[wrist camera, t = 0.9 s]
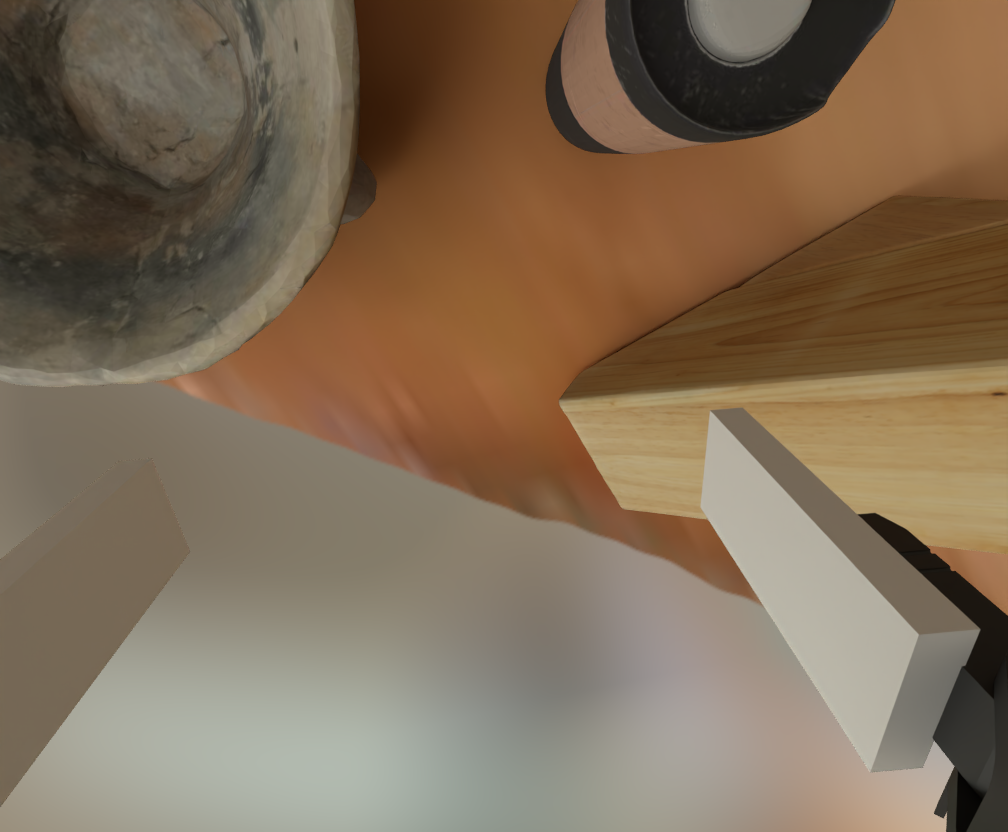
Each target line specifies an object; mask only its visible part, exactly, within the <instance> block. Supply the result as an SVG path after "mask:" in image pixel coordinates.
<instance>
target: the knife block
mask: <svg viewBox="0 0 1008 832" xmlns="http://www.w3.org/2000/svg"><path fill="white" fill-rule="evenodd" d="M559 405H560V407H561V409H562V410H563V412H564V413H565V414H566V415H567V417H568V418H569V420H570V422H571V424H572V425H573V427H574V429H575V430H576V432H577V434H578V436H579V437H580V439H581V441H582V442H583V444H584V446H585V447H586V449H587V451H588V452H589V454H590V456H591V458H592V459H593V461H594V463H595V464H596V467H597V469H598V470H599V472H600V473H601V475H602V477H603V478H604V480H605V482H606V483H607V485H608V486H609V488H610V490H611V491H612V493H613V494H614V496H615V497H616V499H617V501H618V503H619V505H620V506H621V507H622V508H623V509H627V510H636V511H645V512H653V513H661V514H669V515H677V516H685V517H693V518H701V519H708V518H707V517H706V515H705V514H704V512H703V511H702V509H701V507H700V506H701V496H702V486H703V476H704V466H705V456H706V446H707V435H708V425H709V415H710V410H718V409H730V408H744V409H745V410H746V411H747V412H748V413H749V414H750V415H751V416H752V417H753V418H754V419H755V420H756V421H757V422H759V423H760V424H761V425H762V426H763V427H764V428H765V429H766V430H767V431H768V432H769V433H770V434H771V435H773V436H774V437H775V438H776V439H777V440H778V441H779V442H780V443H781V444H782V445H783V446H784V447H785V448H786V449H788V450H789V451H790V452H791V453H792V454H793V455H794V456H795V457H796V458H797V459H798V460H799V461H800V462H802V463H803V464H804V465H805V466H806V467H807V468H808V469H809V470H810V471H811V472H812V473H813V474H814V475H815V476H817V477H818V478H819V479H820V480H821V481H822V482H823V483H824V484H825V485H826V486H827V487H828V488H829V489H830V490H832V491H833V492H834V493H835V494H836V495H837V496H838V497H839V498H840V499H841V500H842V501H843V502H844V503H846V504H847V505H848V506H849V507H850V508H851V509H852V510H853V511H854V512H855V513H856V514H867V513H877V514H879V515H880V516H882V517H884V518H886V519H888V520H890V521H892V522H894V523H896V524H898V525H900V526H902V527H903V528H905V529H907V530H908V531H909V532H910V533H912V534H913V535H914V536H915V537H916V538H917V539H919V540H920V541H921V542H922V543H923V544H924V545H929V546H938V547H947V548H956V549H964V550H973V551H982V552H991V553H999V554H1008V201H1001V200H982V199H963V198H941V197H913V196H896V197H892V198H890V199H888V200H886V201H885V202H883V203H881V204H880V205H878V206H876V207H874V208H873V209H871V210H869V211H867V212H866V213H864V214H862V215H860V216H859V217H857V218H855V219H853V220H852V221H850V222H848V223H846V224H845V225H843V226H841V227H839V228H838V229H836V230H834V231H832V232H830V233H829V234H827V235H825V236H823V237H822V238H820V239H818V240H816V241H815V242H813V243H811V244H809V245H808V246H806V247H804V248H802V249H800V250H799V251H797V252H795V253H793V254H792V255H790V256H788V257H787V258H785V259H783V260H782V261H780V262H778V263H777V264H775V265H773V266H772V267H770V268H768V269H766V270H765V271H763V272H762V273H760V274H758V275H757V276H755V277H754V278H752V279H750V280H749V281H747V282H746V283H745V284H743V285H742V286H740V287H739V288H737V289H733V290H729V291H727V292H724V293H722V294H720V295H719V296H717V297H715V298H713V299H711V300H709V301H708V302H706V303H704V304H702V305H700V306H698V307H697V308H695V309H693V310H691V311H690V312H688V313H686V314H684V315H682V316H681V317H679V318H677V319H675V320H673V321H672V322H670V323H668V324H666V325H664V326H663V327H661V328H659V329H657V330H656V331H654V332H652V333H650V334H648V335H647V336H645V337H643V338H641V339H640V340H638V341H636V342H634V343H632V344H631V345H629V346H627V347H625V348H624V349H622V350H620V351H618V352H616V353H615V354H613V355H611V356H609V357H608V358H606V359H604V360H602V361H600V362H598V363H597V364H595V365H593V366H591V367H589V368H588V369H586V370H584V371H583V372H581V373H580V374H579V375H578V376H577V377H576V378H575V380H574V381H573V382H572V383H571V384H570V386H569V387H568V388H567V390H566V391H565V392H564V394H563V395H562V396H561V398H560V399H559Z"/></svg>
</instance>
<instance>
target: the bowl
mask: <svg viewBox="0 0 1008 832" xmlns="http://www.w3.org/2000/svg"><path fill="white" fill-rule="evenodd" d="M359 113H360V60H359V48H358V35H357V25H356V15H355V6H354V0H0V380H2V381H5V382H8V383H11V384H14V385H15V384H16V385H29V386H51V387H68V386H73V385H99V386H104V385H111V384H118V383H124V384H125V383H126V384H138V383H144V382H152V381H161V380H168V379H171V378H174V377H178V376H181V375H184V374H188V373H192V372H197V371H201V370H204V369H206V368H208V367H210V366H212V365H213V364H215V363H216V362H218V361H219V360H221V359H222V358H224V357H226V356H228V355H230V354H231V353H233V352H235V351H237V350H239V348H240V347H241V346H242V344H244V343H245V342H247V341H249V340H250V339H251V338H253V337H254V336H255V335H256V334H258V333H259V332H260V331H261V330H263V329H264V328H265V327H266V326H268V325H269V324H270V323H271V322H272V321H273V320H274V319H275V318H276V317H277V316H278V315H280V314H281V312H282V311H283V310H284V309H285V308H286V307H287V306H288V305H289V304H290V303H291V301H292V300H293V299H294V298H295V297H296V295H297V294H298V293H299V292H300V290H301V289H302V288H303V287H304V285H305V284H306V283H307V282H308V280H309V279H310V278H311V276H312V275H313V274H314V272H315V271H316V270H317V268H318V267H319V265H320V264H321V262H322V261H323V259H324V258H325V256H326V255H327V253H328V252H329V250H330V249H331V247H332V246H333V243H334V241H335V238H336V236H337V233H338V230H339V227H340V224H345V223H347V222H350V221H352V220H355V219H357V218H360V217H361V216H362V215H363V214H364V212H365V211H366V210H367V209H368V208H369V207H370V206H371V205H372V203H373V202H374V201H375V196H376V185H377V182H376V180H375V177H374V175H373V173H372V172H371V170H370V169H369V168H368V167H367V165H366V164H365V163H364V161H363V160H362V159H361V158H360V156H359V155H358V154H357V147H358V137H359Z"/></svg>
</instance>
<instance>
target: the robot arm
mask: <svg viewBox="0 0 1008 832" xmlns="http://www.w3.org/2000/svg"><path fill="white" fill-rule="evenodd" d="M700 507H701V509H702V511H703V512H704V514H705V515H706V517H707V518H708V520H709V521H710V523H711V525H712V526H713V528H714V529H715V531H716V532H717V534H718V536H719V537H720V539H721V540H722V542H723V543H724V545H725V546H726V548H727V550H728V551H729V553H730V554H731V556H732V557H733V559H734V560H735V562H736V564H737V565H738V567H739V568H740V570H741V571H742V573H743V575H744V576H745V578H746V579H747V581H748V582H749V584H750V585H751V587H752V589H753V590H754V592H755V593H756V595H757V596H758V598H759V599H760V601H761V603H762V604H763V606H764V607H765V609H766V610H767V612H768V613H769V615H770V617H771V618H772V620H773V621H774V623H775V624H776V626H777V628H778V629H779V630H780V632H781V634H782V635H783V637H784V638H785V640H786V642H787V643H788V645H789V646H790V648H791V649H792V651H793V652H794V654H795V656H796V657H797V659H798V660H799V662H800V663H801V665H802V667H803V668H804V670H805V671H806V673H807V674H808V676H809V677H810V679H811V681H812V682H813V684H814V685H815V687H816V688H817V690H818V692H819V693H820V695H821V696H822V698H823V699H824V701H825V702H826V704H827V706H828V707H829V709H830V710H831V712H832V713H833V715H834V716H835V718H836V720H837V721H838V723H839V724H840V726H841V727H842V729H843V731H844V732H845V734H846V735H847V737H848V738H849V740H850V741H851V743H852V745H853V746H854V748H855V749H856V751H857V752H858V754H859V755H860V757H861V759H862V760H863V762H864V763H865V765H866V766H867V768H868V770H869V771H870V772H881V771H892V770H903V769H914V768H923V766H924V763H925V761H926V759H927V756H928V754H929V751H930V749H931V747H932V744H933V742H934V741H935V742H936V743H937V744H938V746H939V747H940V748H941V750H942V751H943V752H944V753H945V755H946V756H947V757H948V758H949V760H950V761H951V762H952V763H953V765H954V766H955V767H954V769H953V771H952V773H951V776H950V778H949V780H948V782H947V784H946V786H945V789H944V791H943V793H942V795H941V797H940V800H939V802H938V804H937V807H936V809H935V812H934V814H936V815H938V816H940V817H942V818H944V816H945V814H946V812H947V828H946V832H1008V616H1007V615H1006V614H1005V613H1004V612H1003V611H1001V610H1000V609H999V608H998V607H997V606H996V605H994V604H993V603H992V602H991V601H990V600H989V599H987V598H986V597H985V596H984V595H983V594H982V593H980V592H979V591H978V590H977V589H976V588H975V587H973V586H972V585H971V584H970V583H969V582H968V581H966V580H965V579H964V578H963V577H962V576H961V575H959V574H958V573H957V572H956V571H951V569H950V566H949V565H948V564H947V563H945V562H944V561H943V560H942V559H941V558H940V557H938V556H937V555H936V554H931V552H930V549H929V548H928V547H927V546H926V545H924V544H923V543H922V542H921V541H920V540H919V539H917V538H916V537H915V536H914V535H913V534H912V533H910V532H909V531H908V530H907V529H905V528H903V527H902V526H900V525H898V524H896V523H894V522H892V521H890V520H888V519H886V518H884V517H882V516H880V515H879V514H877V513H867V514H856V513H855V512H854V511H853V510H852V509H851V508H850V507H849V506H848V505H847V504H846V503H844V502H843V501H842V500H841V499H840V498H839V497H838V496H837V495H836V494H835V493H834V492H833V491H832V490H830V489H829V488H828V487H827V486H826V485H825V484H824V483H823V482H822V481H821V480H820V479H819V478H818V477H817V476H815V475H814V474H813V473H812V472H811V471H810V470H809V469H808V468H807V467H806V466H805V465H804V464H803V463H802V462H800V461H799V460H798V459H797V458H796V457H795V456H794V455H793V454H792V453H791V452H790V451H789V450H788V449H786V448H785V447H784V446H783V445H782V444H781V443H780V442H779V441H778V440H777V439H776V438H775V437H774V436H773V435H771V434H770V433H769V432H768V431H767V430H766V429H765V428H764V427H763V426H762V425H761V424H760V423H759V422H757V421H756V420H755V419H754V418H753V417H752V416H751V415H750V414H749V413H748V412H747V411H746V410H745V409H744V408H730V409H718V410H710V415H709V425H708V435H707V446H706V456H705V466H704V476H703V486H702V496H701V506H700ZM189 553H190V550H189V547H188V545H187V543H186V540H185V538H184V535H183V533H182V531H181V528H180V526H179V523H178V521H177V518H176V516H175V513H174V511H173V509H172V506H171V504H170V501H169V499H168V496H167V494H166V492H165V489H164V487H163V484H162V482H161V479H160V477H159V475H158V472H157V470H156V467H155V465H154V463H153V460H152V458H150V459H138V460H126V461H119V462H118V463H116V464H115V465H114V466H113V467H111V468H110V469H109V470H108V471H106V472H105V473H104V474H103V475H102V476H100V477H99V478H98V479H97V480H96V481H94V482H93V483H92V484H91V485H90V486H88V487H87V488H86V489H85V490H84V491H82V492H81V493H80V494H79V495H78V496H76V497H75V498H74V499H73V500H72V501H70V502H69V503H68V504H67V505H65V506H64V507H63V508H62V509H61V510H59V511H58V512H57V513H56V514H55V515H53V516H52V517H51V518H50V519H49V520H47V521H46V522H45V523H44V524H43V525H41V526H40V527H39V528H38V529H36V530H35V531H34V532H33V533H32V534H31V535H29V536H28V537H27V538H26V539H25V540H23V541H22V542H21V543H20V544H18V545H17V546H16V547H15V548H13V549H12V550H11V551H10V552H9V553H8V554H6V555H5V556H4V557H3V558H1V559H0V807H1V805H2V804H3V803H4V801H5V800H6V799H7V797H8V796H9V795H10V793H11V792H12V791H13V789H14V788H15V787H16V785H17V784H18V783H19V781H20V780H21V779H22V777H23V776H24V775H25V773H26V772H27V771H28V769H29V768H30V766H31V765H32V764H33V762H34V761H35V760H36V758H37V757H38V756H39V754H40V753H41V752H42V750H43V749H44V748H45V746H46V745H47V744H48V742H49V741H50V739H51V738H52V737H53V736H54V734H55V733H56V732H57V730H58V729H59V727H60V726H61V725H62V723H63V722H64V721H65V719H66V718H67V717H68V715H69V714H70V713H71V711H72V710H73V709H74V707H75V706H76V705H77V703H78V702H79V701H80V699H81V698H82V696H83V695H84V694H85V692H86V691H87V690H88V688H89V687H90V686H91V684H92V683H93V682H94V680H95V679H96V678H97V676H98V675H99V674H100V672H101V671H102V669H103V668H104V667H105V666H106V664H107V663H108V661H109V660H110V659H111V658H112V656H113V655H114V654H115V652H116V651H117V649H118V648H119V647H120V645H121V644H122V643H123V641H124V640H125V639H126V637H127V636H128V635H129V633H130V632H131V631H132V629H133V628H134V627H135V625H136V624H137V623H138V621H139V620H140V618H141V617H142V616H143V615H144V613H145V612H146V610H147V609H148V608H149V606H150V605H151V604H152V602H153V601H154V600H155V598H156V597H157V596H158V594H159V593H160V592H161V590H162V589H163V588H164V586H165V585H166V584H167V582H168V581H169V580H170V578H171V577H172V576H173V574H174V573H175V571H176V570H177V569H178V567H179V566H180V565H181V563H182V562H183V561H184V559H185V558H186V557H187V555H188V554H189Z"/></svg>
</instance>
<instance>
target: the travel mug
mask: <svg viewBox="0 0 1008 832" xmlns="http://www.w3.org/2000/svg"><path fill="white" fill-rule="evenodd" d="M894 3H895V0H578V2H577V4H576V5H575V7H574V9H573V12H572V14H571V16H570V18H569V20H568V22H567V24H566V27H565V29H564V31H563V33H562V35H561V37H560V39H559V42H558V44H557V46H556V48H555V50H554V53H553V55H552V58H551V61H550V64H549V67H548V72H547V77H546V100H547V105H548V110H549V113H550V115H551V118H552V120H553V122H554V124H555V126H556V128H557V129H558V130H559V132H560V133H561V134H562V135H563V136H564V138H565V139H567V140H568V141H569V142H570V143H572V144H573V145H575V146H576V147H578V148H581V149H583V150H586V151H590V152H595V153H611V154H642V153H651V152H657V151H664V150H671V149H678V148H685V147H692V146H699V145H705V144H712V143H719V142H726V141H733V140H740V139H747V138H752V137H757V136H763V135H766V134H769V133H772V132H775V131H778V130H782V129H784V128H786V127H789V126H791V125H793V124H795V123H798V122H800V121H801V120H803V119H805V118H807V117H809V116H811V115H812V114H814V113H816V112H817V111H819V110H820V109H821V108H822V107H824V105H825V104H826V102H827V100H828V97H829V96H830V94H831V93H832V91H833V90H834V88H835V87H836V86H837V84H838V83H839V82H840V80H841V79H842V78H843V76H844V75H845V74H846V72H847V71H848V70H849V68H850V67H851V65H852V64H853V63H854V61H855V60H856V58H857V57H858V56H859V54H860V53H861V52H862V50H863V49H864V48H865V46H866V45H867V44H868V42H869V41H870V40H871V39H872V38H873V36H874V35H875V34H876V33H877V32H878V31H879V30H880V29H881V28H882V26H883V25H884V24H885V22H886V21H887V19H888V17H889V15H890V14H891V11H892V8H893V6H894Z"/></svg>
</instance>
